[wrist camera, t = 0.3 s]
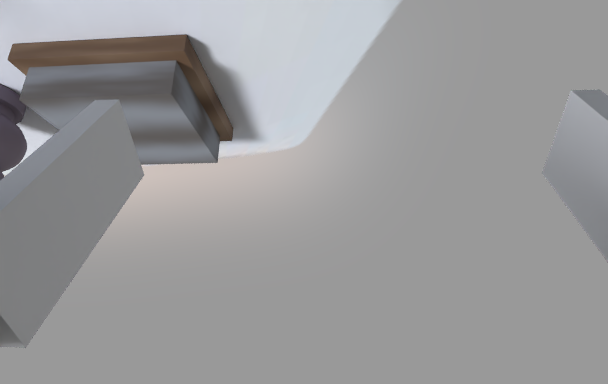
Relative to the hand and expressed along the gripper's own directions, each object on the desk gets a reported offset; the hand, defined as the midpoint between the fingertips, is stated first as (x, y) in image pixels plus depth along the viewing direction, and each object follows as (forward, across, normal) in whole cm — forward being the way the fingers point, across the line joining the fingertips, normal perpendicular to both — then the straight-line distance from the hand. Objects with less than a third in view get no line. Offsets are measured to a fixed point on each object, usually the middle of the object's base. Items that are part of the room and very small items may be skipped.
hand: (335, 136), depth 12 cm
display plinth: (+24, -18, -8) cm, 31 cm away
